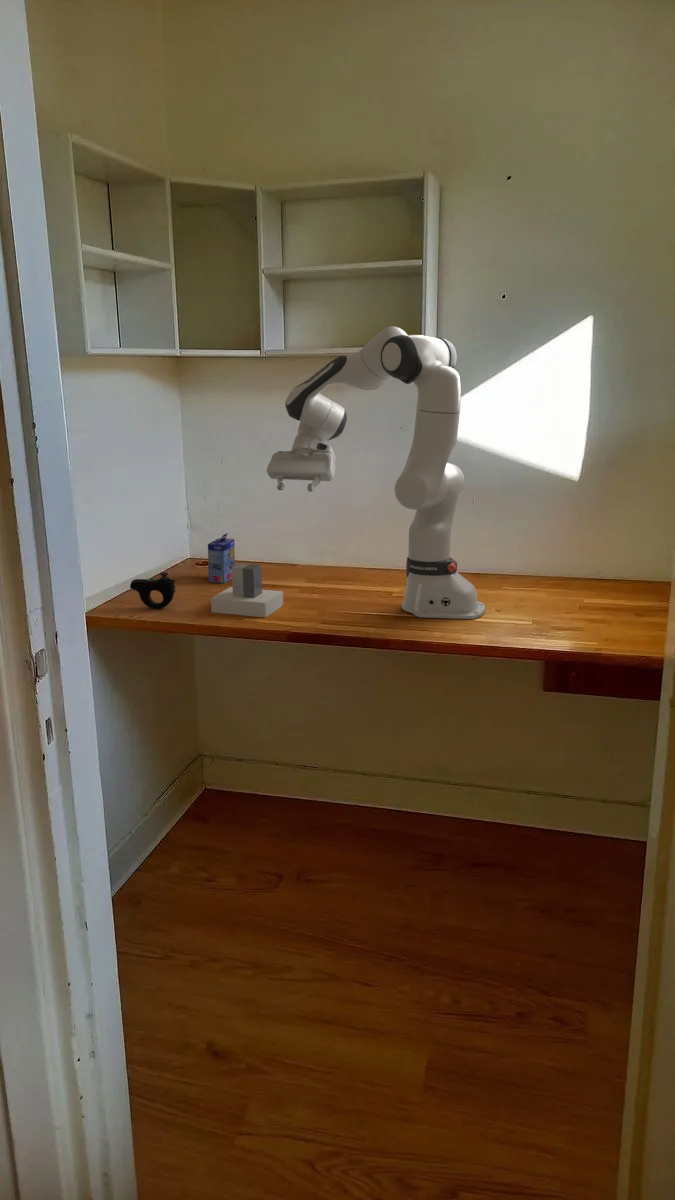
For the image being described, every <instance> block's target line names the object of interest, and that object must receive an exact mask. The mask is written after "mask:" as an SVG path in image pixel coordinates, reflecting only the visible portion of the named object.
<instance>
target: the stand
mask: <svg viewBox="0 0 675 1200" xmlns="http://www.w3.org/2000/svg"><path fill="white" fill-rule="evenodd" d="M283 594H284V591H283V590H281V591H280V590H272V589H271V590H269V589H262V594H260V595H258V596H257V597H255V598H249V597H237V596H233V586H230V587H228V588H226V589H224V590H223V591H221V592H219V593H217V594H215V595H214V596H212V597H211V598H210V604H211V605H210V609H211V613H215V614H225V615H236V616H237V615H238V616H248V617H255V618H256V617H258V618H267V617H269V616H270V615H271V614H273V613H274V612H276V611H278V610H279V609H280V608H281V607H283V606H284V595H283ZM282 605H283V606H282Z"/></svg>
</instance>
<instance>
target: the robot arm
mask: <svg viewBox="0 0 675 1200" xmlns="http://www.w3.org/2000/svg"><path fill="white" fill-rule="evenodd" d="M457 358H458V356H457V350H456V348H455V346H454V345H453V343H452V342H451V341H449V340H447V339H445V338H443V337H438V336H437V337H436V336H433V337H432V336H427V335H423V334H407V333H406V331H405V330H404V329H402V328H401V327H398V326H393V325H392V326H387V327H385V328H384V329H382V330H380V332H377V334H376V335H375V336H373V337H372V338H370V340H369V341H368V342H367V343H366V344H365V345H364V346H363V347H362V348H361V349H360V350H359V351H356V352H354V353H352V354H348V355H338V356H336V357H335V358H334V359H332V360H330V362H328V363H327V364H326V365H324V366H323V367H321V369H319V370H318V371H316V372H315V373H314V374H313V375H312V376H310V377H309V378H308V379H307V380H305V381H304V382H302V383H299V385H297V386H295V387H294V388H293V389H292V390H291V391H290V392H289V394H288V395H287V398H286V400H285V403H284V404H285V409H286V412H287V414H288V416H289V417H290V418H291V419H294V420H295V421H296V420H297V421H300V422H299V425H298V428H297V435H296V436H295V438H294V440H293V443H292V444H293V445H292V447H291V449H290V450H287V451H286V450H285V451H284V450H278V451H277V452H275V453H273V454H272V456H271V458H270V461H269V463H268V465H267V468H266V473H267V475H268V476H269V478H270V479H272V480H276V482H277V484H276V489H277V491H284V489H285V484H284V482H283V481H284V480H289V481H290V480H294V481H312V482H311V483H308V484H307V491H308V492H310V493H311V492H315V488H316V487H318V485H320V483H321V481H322V482H331V481H333V479H334V478H335V475H336V474H335V473H336V467H337V466H336V461H337V460H336V455H335V452H334V449H333V447H332V445H330V444H327V443H325V442H326V441H331V440H333V439H336V438H338V437H340V435H341V434H342V433H343V432H344V429H345V427H346V425H347V421H348V415H347V410H346V408H344V407H343V406H342V405H340V404H339V403H336V402H335V401H333V399H332V400H331V399H330V398H329V397H326V396H324V395H323V394H322V392H323V391H325V390H326V389H327V388H328V387H330V386H331V385H344V386H350V387H352V388H356V389H359V390H363V391H364V390H365V391H374V390H375V391H376V390H378V389H380V388H383V386H385V385H386V384H387V383H388V382H389V381H390V380H391V379H392V378H395V379H397V380H399V381H401V382H402V383H403V384H406V385H409V384H411V383H414V384H415V386H416V389H417V401H416V403H417V404H416V410H415V411H416V414H415V421H414V431H413V439H412V443H411V447H410V449H409V453H408V456H407V459H406V462H405V464H404V468H403V470H402V472H401V474H400V475H399V477H398V478H397V480H396V482H395V484H394V494H395V497H396V500H397V502H398V503H399V504H400V505H401V506H402V507H404V508H405V509H408V510H409V509H410V510H416V512H415V513H414V514H415V515H414V517H413V520H412V521H411V523H410V525H409V529H408V556H407V557H406V562H405V563H406V565H405V573H406V578H407V579H406V585H405V586H406V587H405V593H404V599H403V602H402V604H401V608H402V610H403V611H405V612H408V613H411V614H412V615H414V616H415V617H417V618H429V619H430V618H431V619H432V618H433V619H434V618H435V619H458V620H459V619H464V620H467V619H468V620H474V619H477V618H480V617H481V616H483V615H484V613H485V612H486V605H485V604H484V603H483V602H482V601H478V594H477V589H476V588H475V585H474V584H472V582H470V581H469V580H467V579H466V578H465V577H464V576H463V575H461V574H460V573H459V572H458V559H453V558H452V557H451V555H450V554H451V533H452V532H451V531H452V526H453V520H454V516H455V511H456V509H457V508H456V507H457V503H458V499H459V497H460V495H461V493H462V491H463V490H464V487H465V476H464V472H463V471H462V469H460V467H458V466H457V464H456V465H455V464H453V463H450V462H448V461H449V459H450V456H451V454H452V451H453V450H454V448H455V446H456V445H457V441H458V440H457V439H458V432H459V431H458V430H459V424H460V415H461V414H460V412H461V399H462V397H461V396H462V395H461V391H462V390H461V378H460V377H461V376H460V375H459V372H458V371H457V370H456V369H455V368H456V365H457Z"/></svg>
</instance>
